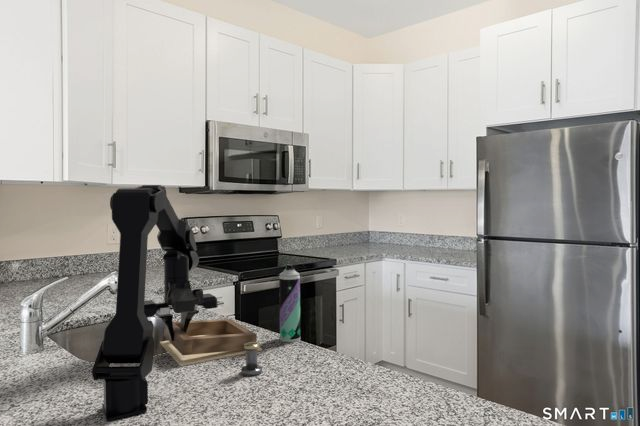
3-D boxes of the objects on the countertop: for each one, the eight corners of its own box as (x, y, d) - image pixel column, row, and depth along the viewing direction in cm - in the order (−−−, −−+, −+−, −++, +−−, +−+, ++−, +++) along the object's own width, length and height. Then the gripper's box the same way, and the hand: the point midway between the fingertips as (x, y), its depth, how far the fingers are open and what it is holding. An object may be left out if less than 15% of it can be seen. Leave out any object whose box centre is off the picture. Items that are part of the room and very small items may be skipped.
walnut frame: (182, 355, 101) (184, 339, 101) (163, 335, 116) (165, 322, 116) (255, 348, 110) (256, 334, 111) (229, 331, 126) (230, 318, 126)
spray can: (275, 339, 119) (274, 264, 119) (291, 334, 123) (290, 262, 123) (289, 343, 115) (288, 266, 115) (304, 339, 119) (304, 264, 119)
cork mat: (180, 366, 100) (180, 365, 100) (160, 343, 117) (160, 341, 117) (262, 350, 110) (262, 348, 110) (232, 330, 127) (232, 329, 127)
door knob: (246, 377, 93) (245, 349, 93) (238, 371, 97) (238, 343, 97) (265, 373, 95) (265, 345, 95) (257, 366, 99) (256, 340, 99)
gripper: (142, 285, 97) (143, 356, 97) (224, 277, 107) (225, 341, 107) (133, 278, 106) (134, 343, 107) (209, 271, 116) (210, 330, 117)
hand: (177, 339), depth 109 cm, fingers closed on walnut frame, 2 cm apart
